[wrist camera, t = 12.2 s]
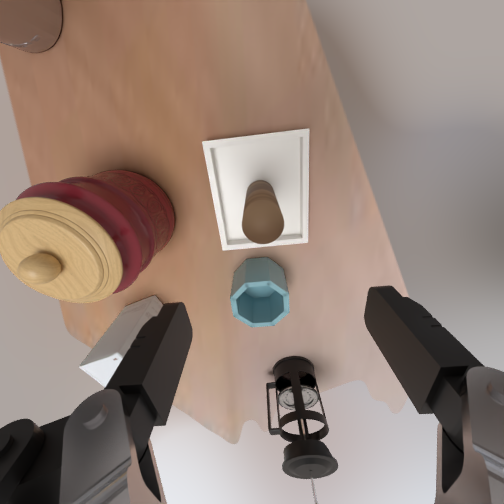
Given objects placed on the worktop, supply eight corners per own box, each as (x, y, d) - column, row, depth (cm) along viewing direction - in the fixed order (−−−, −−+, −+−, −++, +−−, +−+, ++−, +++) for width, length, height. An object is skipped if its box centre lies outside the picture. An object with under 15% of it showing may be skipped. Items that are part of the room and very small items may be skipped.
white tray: (206, 141, 28) (202, 141, 26) (304, 129, 28) (309, 128, 25) (224, 243, 35) (222, 250, 33) (304, 236, 34) (308, 242, 32)
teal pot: (231, 260, 36) (227, 284, 30) (282, 255, 36) (288, 279, 30) (238, 299, 40) (235, 328, 34) (284, 296, 40) (289, 324, 34)
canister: (75, 171, 30) (-118, 202, 15) (165, 165, 30) (67, 190, 14) (109, 253, 36) (-3, 337, 20) (184, 249, 36) (130, 332, 20)
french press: (315, 353, 47) (362, 515, 26) (317, 379, 51) (359, 537, 31) (262, 359, 48) (269, 520, 28) (269, 384, 52) (278, 540, 32)
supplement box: (124, 305, 41) (75, 366, 30) (156, 293, 40) (117, 352, 29) (146, 331, 44) (110, 394, 33) (177, 320, 43) (150, 383, 32)
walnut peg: (244, 182, 30) (238, 207, 19) (272, 178, 30) (282, 201, 19) (248, 209, 32) (244, 246, 21) (275, 206, 31) (285, 241, 21)
